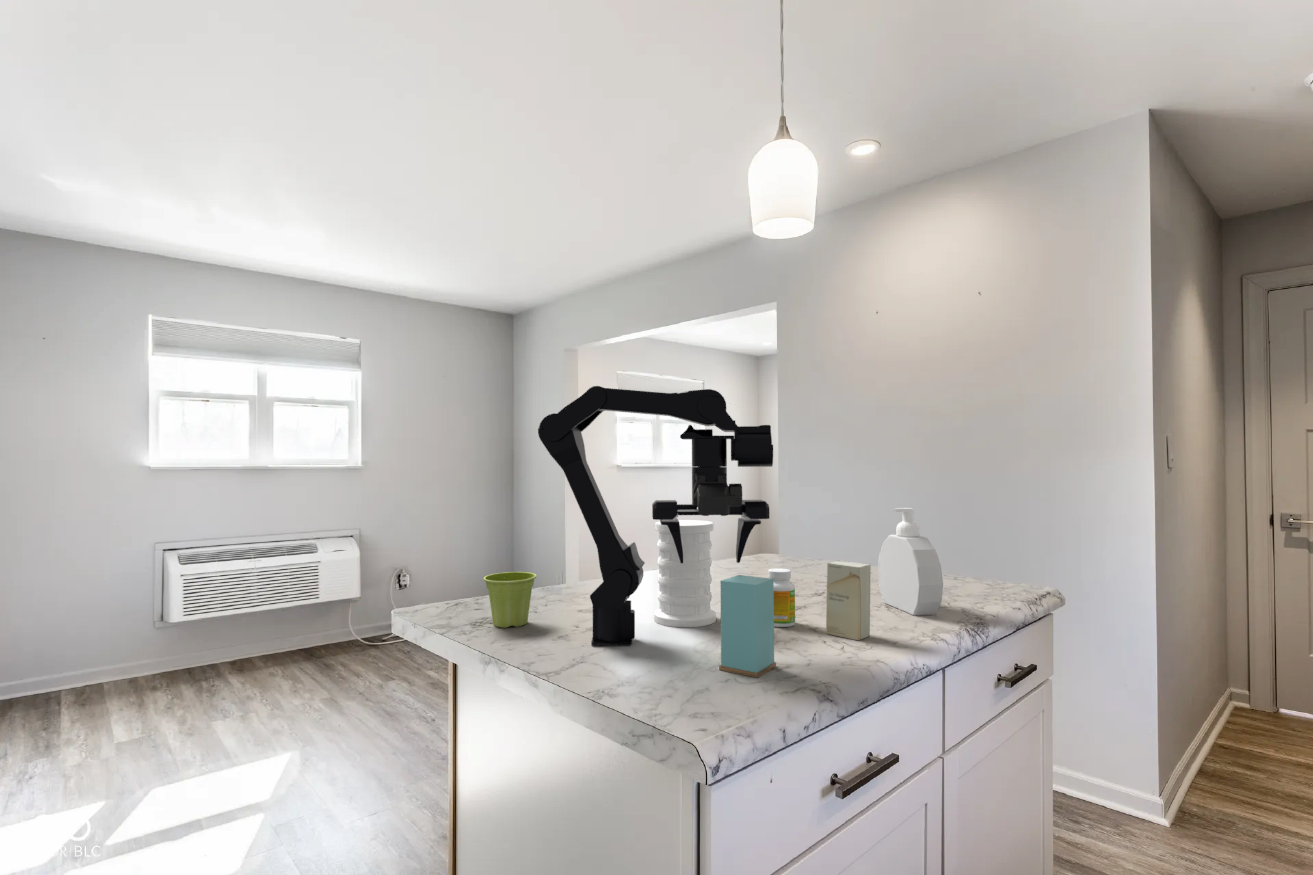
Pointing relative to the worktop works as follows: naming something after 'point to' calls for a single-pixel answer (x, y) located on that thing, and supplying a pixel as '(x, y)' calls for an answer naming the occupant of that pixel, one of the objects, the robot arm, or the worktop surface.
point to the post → (748, 671)
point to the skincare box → (848, 599)
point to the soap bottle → (910, 569)
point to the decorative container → (685, 576)
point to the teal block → (747, 623)
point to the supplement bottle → (783, 597)
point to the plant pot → (510, 597)
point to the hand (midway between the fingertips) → (709, 562)
